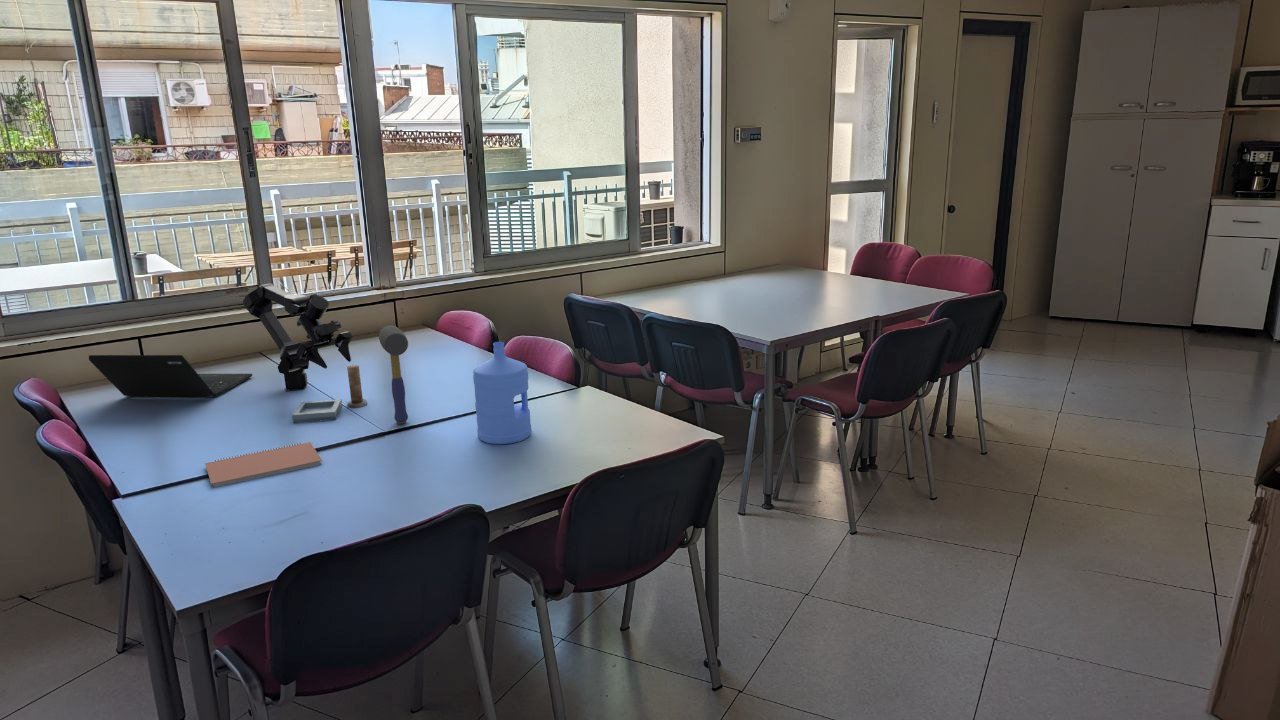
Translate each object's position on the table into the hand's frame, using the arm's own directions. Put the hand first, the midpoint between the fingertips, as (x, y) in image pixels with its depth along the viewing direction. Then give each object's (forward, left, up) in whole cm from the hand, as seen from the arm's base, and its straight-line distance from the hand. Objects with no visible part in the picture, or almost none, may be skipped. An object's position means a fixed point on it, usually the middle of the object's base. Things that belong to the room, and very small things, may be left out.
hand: (338, 364), depth 276 cm
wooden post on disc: (+5, -5, -13) cm, 15 cm away
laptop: (-58, +22, -13) cm, 63 cm away
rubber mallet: (+21, -26, -13) cm, 36 cm away
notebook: (-13, -52, -13) cm, 56 cm away
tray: (-6, -12, -13) cm, 18 cm away
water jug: (+52, -44, -13) cm, 70 cm away
